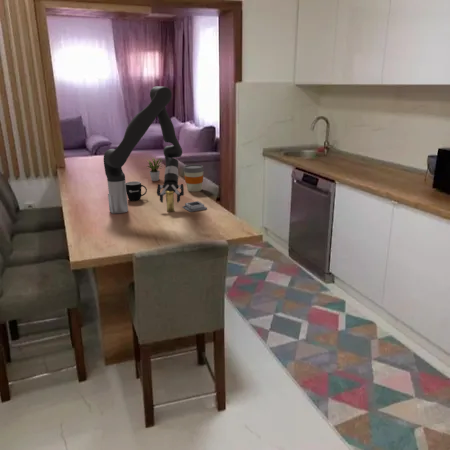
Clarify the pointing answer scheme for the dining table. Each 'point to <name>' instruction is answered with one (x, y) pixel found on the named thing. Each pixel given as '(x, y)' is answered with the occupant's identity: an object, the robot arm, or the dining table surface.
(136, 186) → the mug
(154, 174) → the house plant
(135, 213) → the dining table surface
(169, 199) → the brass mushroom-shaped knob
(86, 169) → the dining table surface
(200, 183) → the reusable coffee cup
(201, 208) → the square tray with knobs
